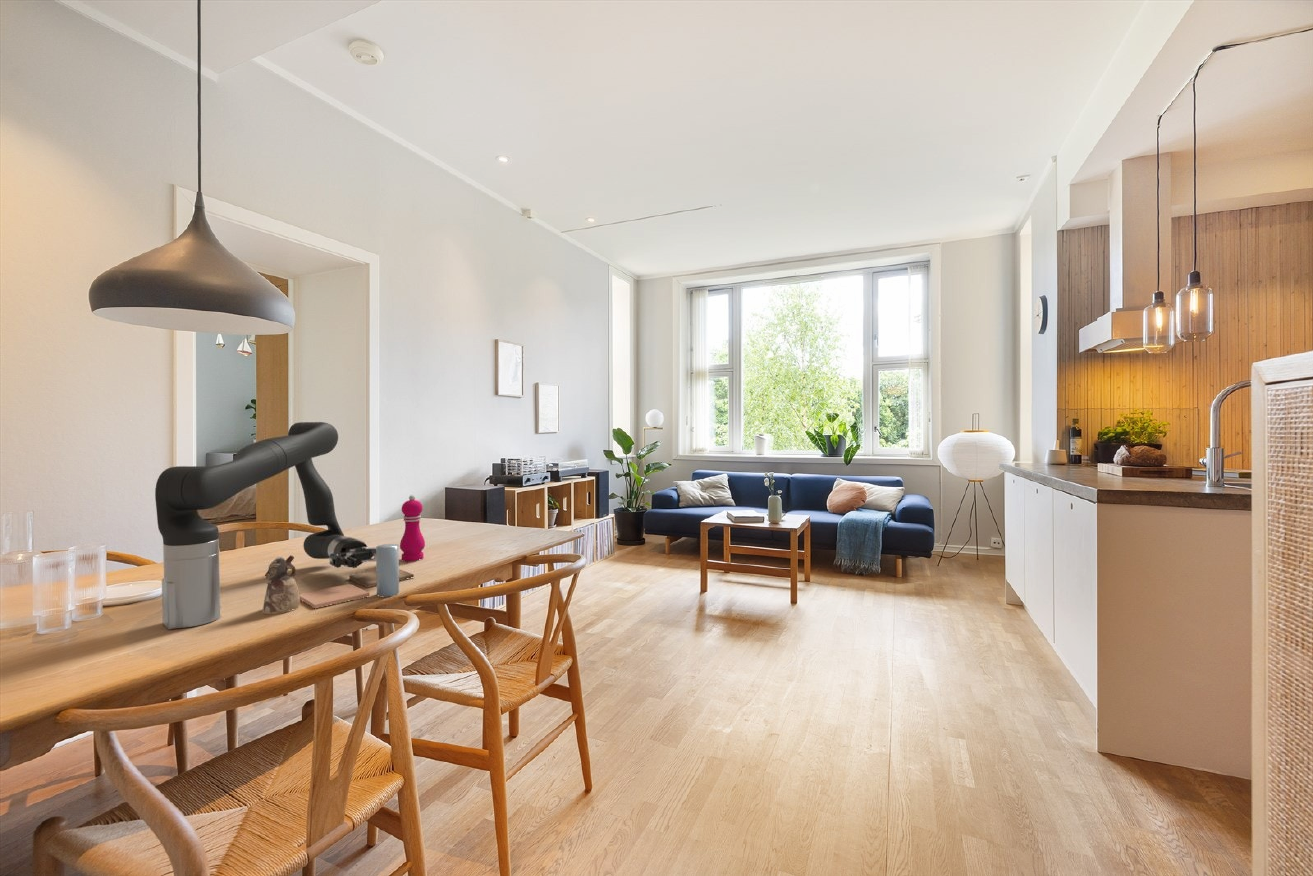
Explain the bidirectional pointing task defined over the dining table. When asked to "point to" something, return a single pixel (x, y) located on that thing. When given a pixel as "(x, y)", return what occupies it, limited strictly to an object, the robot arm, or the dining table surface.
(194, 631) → the dining table surface
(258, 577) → the dining table surface
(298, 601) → the figurine
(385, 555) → the canister
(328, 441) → the robot arm
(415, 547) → the pepper mill
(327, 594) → the terracotta tile
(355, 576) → the walnut board
